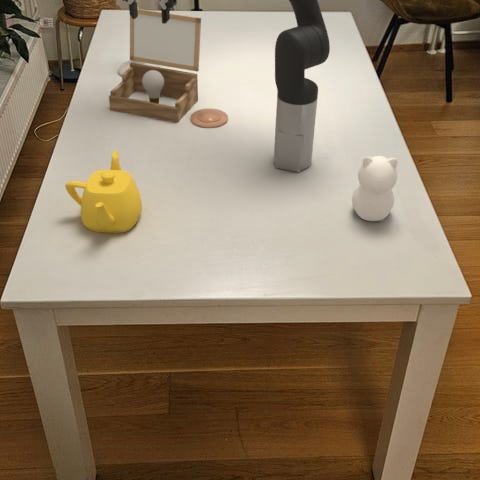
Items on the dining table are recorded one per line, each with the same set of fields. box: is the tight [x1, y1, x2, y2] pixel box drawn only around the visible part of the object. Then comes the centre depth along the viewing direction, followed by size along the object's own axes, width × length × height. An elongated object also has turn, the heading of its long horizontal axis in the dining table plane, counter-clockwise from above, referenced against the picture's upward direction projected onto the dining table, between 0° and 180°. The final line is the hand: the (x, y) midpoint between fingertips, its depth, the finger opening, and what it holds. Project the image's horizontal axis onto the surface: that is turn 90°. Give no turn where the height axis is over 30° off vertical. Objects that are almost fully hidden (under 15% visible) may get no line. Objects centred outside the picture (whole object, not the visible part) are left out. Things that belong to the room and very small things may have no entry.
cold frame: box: [108, 63, 199, 123], centre depth 192 cm, size 14×20×8 cm
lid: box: [129, 8, 202, 72], centre depth 191 cm, size 14×20×1 cm
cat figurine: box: [351, 155, 398, 222], centre depth 151 cm, size 9×12×15 cm
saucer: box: [189, 108, 229, 129], centre depth 188 cm, size 10×10×1 cm
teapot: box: [65, 149, 143, 234], centre depth 148 cm, size 22×16×11 cm
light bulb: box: [142, 70, 164, 104], centre depth 191 cm, size 6×6×10 cm
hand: (149, 20), depth 180 cm, fingers open, 8 cm apart
